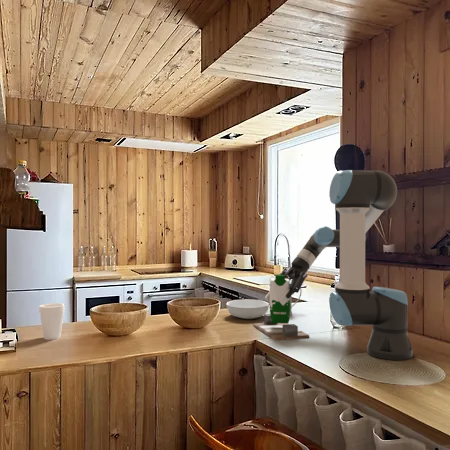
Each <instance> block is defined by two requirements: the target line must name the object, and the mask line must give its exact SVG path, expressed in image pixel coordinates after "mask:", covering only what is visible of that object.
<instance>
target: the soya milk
mask: <svg viewBox="0 0 450 450" xmlns="http://www.w3.org/2000/svg"><path fill="white" fill-rule="evenodd" d="M274 276H275V278H273V277H271V278H270V281H269V291H270V301H269V314H270V315H271V321H272V323H288V324H290V316H291V315H290V298H289V299H288V300H287V302H286V303H285V304H284V306H283V305H282V304H281V303H280V302H279V300H280V299H281V297H282V296H283V295H284V293H285V292H286V291H287V290H288V289H289V287H290V284H291V282H290V281H291V280H290V281H289V279H285V275H280V274H275V275H274ZM289 290H290V289H289Z"/></svg>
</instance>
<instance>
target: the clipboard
mask: <svg viewBox="0 0 450 450" xmlns="http://www.w3.org/2000/svg"><path fill="white" fill-rule="evenodd" d="M252 325H253V327H254V328H256V329H257V330H259V331H260V332H261V333H263V334H265V335H266V336H267V337H269V338H270V339H272V340H274V341H284V340H297V339H309V338H310V335H309V334H308V333H306V332H304V331H302V330H300V329H299V326H298V325H296V324H294V323H272V321H271V315H270V313H265V314H264V315H263V322H262V323H261V322H260V323H253V324H252Z"/></svg>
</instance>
